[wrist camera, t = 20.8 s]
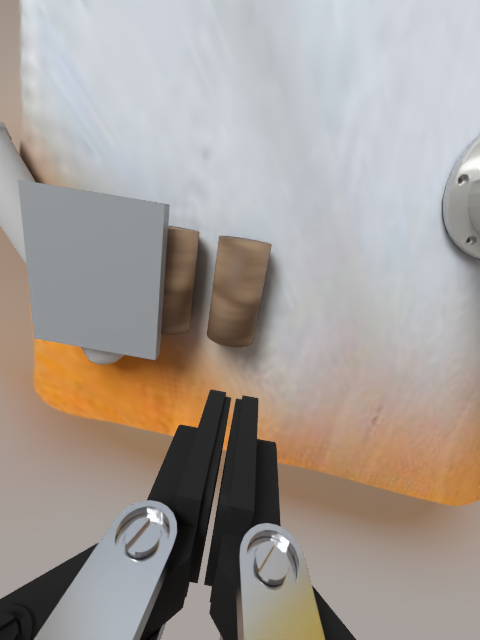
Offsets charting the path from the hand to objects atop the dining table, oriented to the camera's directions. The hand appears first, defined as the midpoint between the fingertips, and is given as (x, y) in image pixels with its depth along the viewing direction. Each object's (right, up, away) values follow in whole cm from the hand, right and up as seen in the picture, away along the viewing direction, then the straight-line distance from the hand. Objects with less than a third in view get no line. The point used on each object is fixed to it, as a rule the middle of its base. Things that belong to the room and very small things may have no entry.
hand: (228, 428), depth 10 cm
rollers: (-3, +8, +21) cm, 23 cm away
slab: (-12, +8, +16) cm, 22 cm away
